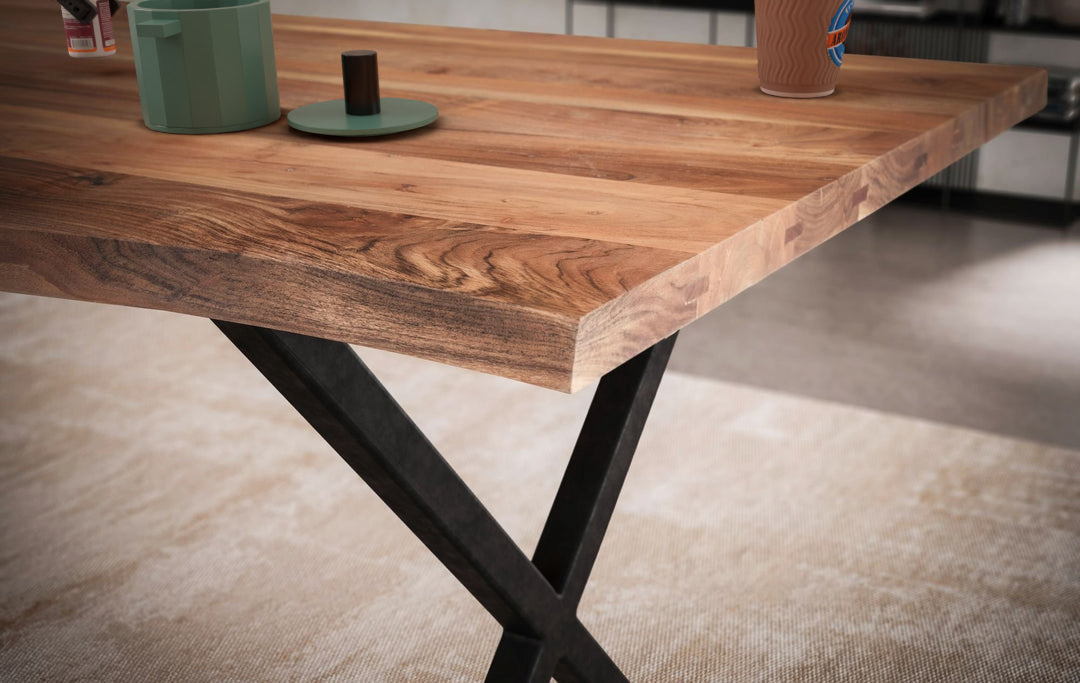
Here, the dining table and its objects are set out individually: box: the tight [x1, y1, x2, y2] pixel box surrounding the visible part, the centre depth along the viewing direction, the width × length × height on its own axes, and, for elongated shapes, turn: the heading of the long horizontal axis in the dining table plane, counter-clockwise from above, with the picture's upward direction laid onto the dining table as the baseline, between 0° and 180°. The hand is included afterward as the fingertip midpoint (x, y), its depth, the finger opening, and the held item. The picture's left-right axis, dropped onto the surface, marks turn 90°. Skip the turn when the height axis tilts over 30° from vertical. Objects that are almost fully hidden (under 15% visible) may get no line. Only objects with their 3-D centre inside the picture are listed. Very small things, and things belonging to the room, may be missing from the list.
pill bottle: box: [60, 0, 117, 59], centre depth 122 cm, size 5×5×8 cm
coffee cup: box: [754, 0, 855, 99], centre depth 109 cm, size 10×10×12 cm
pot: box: [126, 0, 282, 135], centre depth 101 cm, size 12×17×10 cm
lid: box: [286, 49, 440, 138], centre depth 99 cm, size 13×13×6 cm
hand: (103, 14), depth 122 cm, fingers closed on pill bottle, 4 cm apart
